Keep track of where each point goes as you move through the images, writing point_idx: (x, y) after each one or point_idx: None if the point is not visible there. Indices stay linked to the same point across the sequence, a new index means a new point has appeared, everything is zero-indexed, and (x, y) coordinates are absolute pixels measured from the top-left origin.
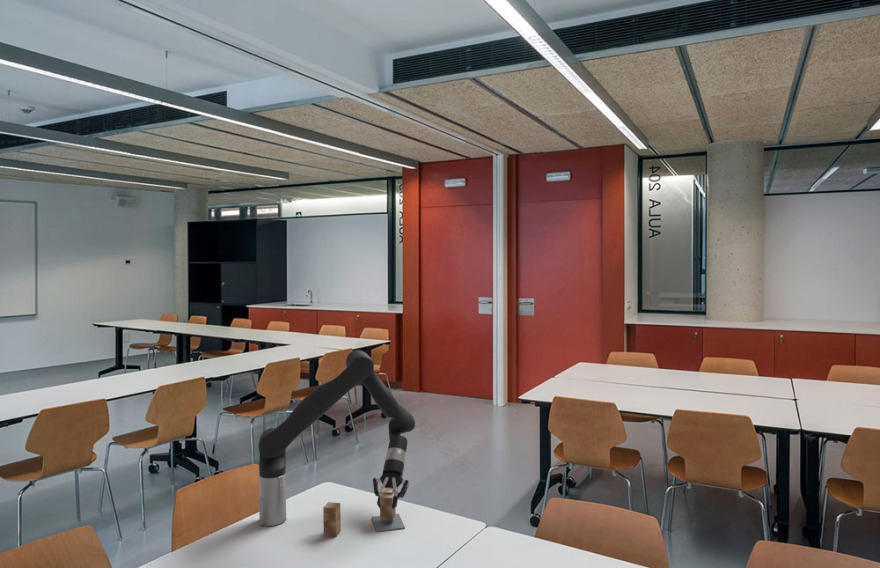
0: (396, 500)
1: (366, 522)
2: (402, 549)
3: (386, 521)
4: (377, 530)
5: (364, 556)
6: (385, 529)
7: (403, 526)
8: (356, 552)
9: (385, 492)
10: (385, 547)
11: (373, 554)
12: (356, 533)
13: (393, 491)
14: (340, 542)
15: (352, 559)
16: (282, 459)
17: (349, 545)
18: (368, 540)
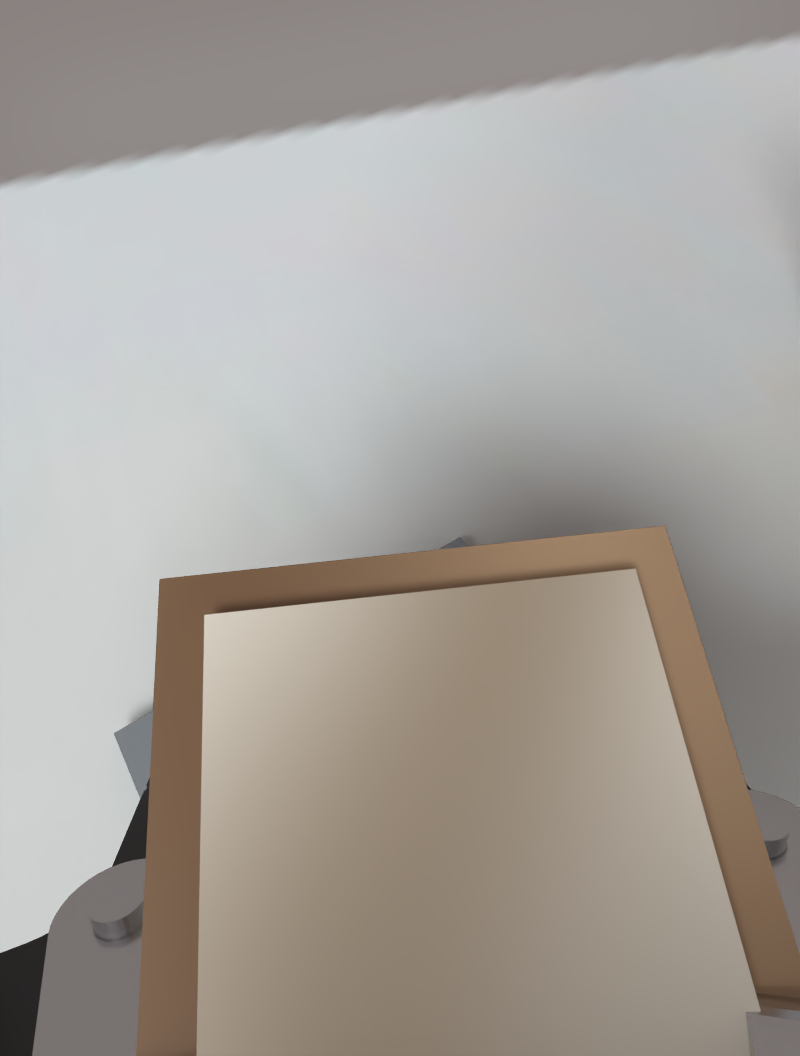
0: (141, 811)
1: None
2: (75, 310)
3: None
4: (454, 545)
5: (372, 160)
6: None
7: (141, 752)
8: (465, 189)
9: (446, 576)
10: (246, 304)
11: (311, 195)
12: (678, 477)
13: (152, 817)
14: (707, 285)
15: (443, 113)
16: None
17: (591, 262)
18: (466, 376)
